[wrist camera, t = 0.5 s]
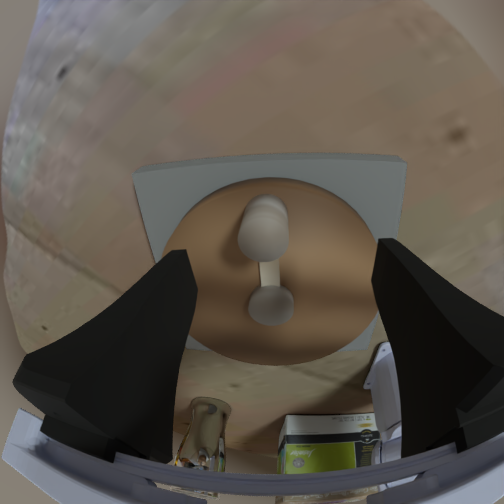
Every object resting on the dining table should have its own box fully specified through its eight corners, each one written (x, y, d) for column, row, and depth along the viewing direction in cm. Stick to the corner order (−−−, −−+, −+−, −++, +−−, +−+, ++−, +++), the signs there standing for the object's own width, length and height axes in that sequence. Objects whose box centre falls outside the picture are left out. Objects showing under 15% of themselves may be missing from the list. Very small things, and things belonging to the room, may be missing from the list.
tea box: (278, 433, 43) (272, 506, 30) (286, 412, 37) (281, 502, 25) (358, 432, 42) (361, 502, 29) (378, 410, 36) (387, 493, 24)
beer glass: (198, 413, 40) (181, 494, 28) (182, 394, 37) (158, 485, 24) (239, 415, 39) (227, 501, 27) (227, 396, 35) (210, 495, 23)
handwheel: (359, 345, 24) (367, 389, 20) (193, 345, 26) (180, 387, 22) (393, 177, 16) (426, 211, 12) (145, 186, 18) (108, 221, 14)
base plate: (364, 336, 26) (367, 349, 25) (190, 336, 29) (186, 348, 27) (397, 155, 17) (407, 162, 15) (142, 166, 19) (131, 173, 17)
